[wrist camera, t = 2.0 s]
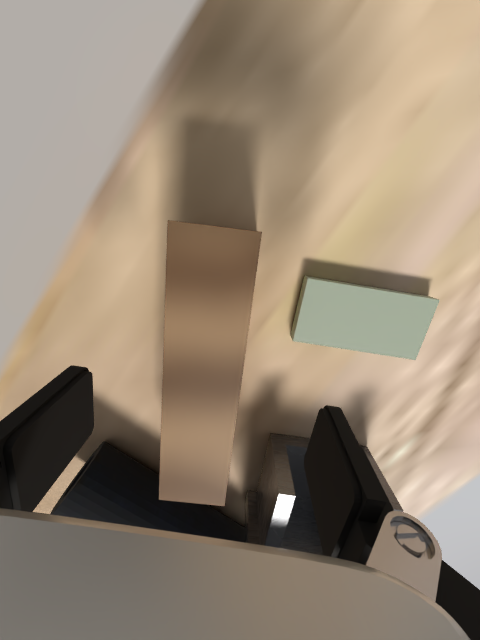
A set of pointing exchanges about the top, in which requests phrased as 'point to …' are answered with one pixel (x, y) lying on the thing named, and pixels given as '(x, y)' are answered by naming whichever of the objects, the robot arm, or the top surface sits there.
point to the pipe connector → (137, 499)
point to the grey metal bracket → (289, 499)
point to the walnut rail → (203, 356)
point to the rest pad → (362, 318)
